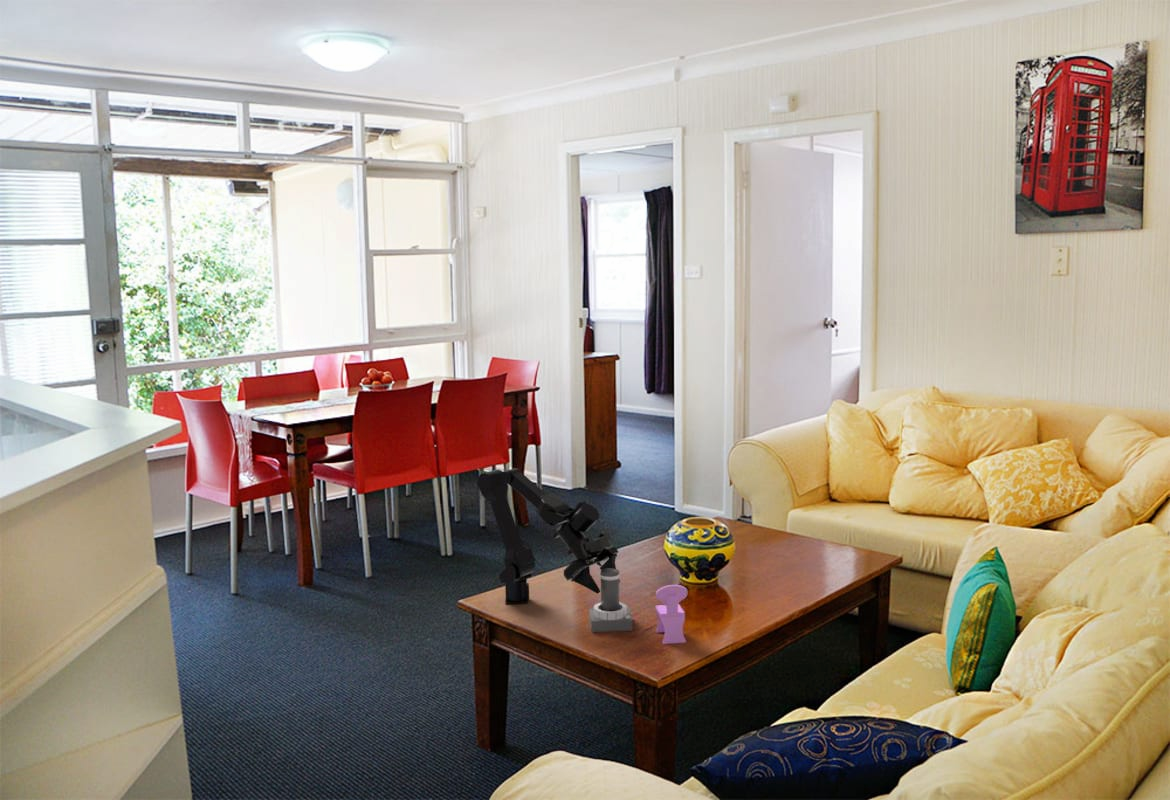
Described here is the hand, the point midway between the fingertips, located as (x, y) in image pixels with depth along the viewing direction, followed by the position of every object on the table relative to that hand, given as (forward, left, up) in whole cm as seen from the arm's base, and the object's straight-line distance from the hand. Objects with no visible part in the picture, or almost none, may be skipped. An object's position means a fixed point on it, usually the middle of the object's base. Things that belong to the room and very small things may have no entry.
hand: (609, 587), depth 258 cm
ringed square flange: (0, 0, -10) cm, 10 cm away
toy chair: (+15, -10, -11) cm, 21 cm away
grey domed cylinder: (0, 0, -7) cm, 7 cm away
